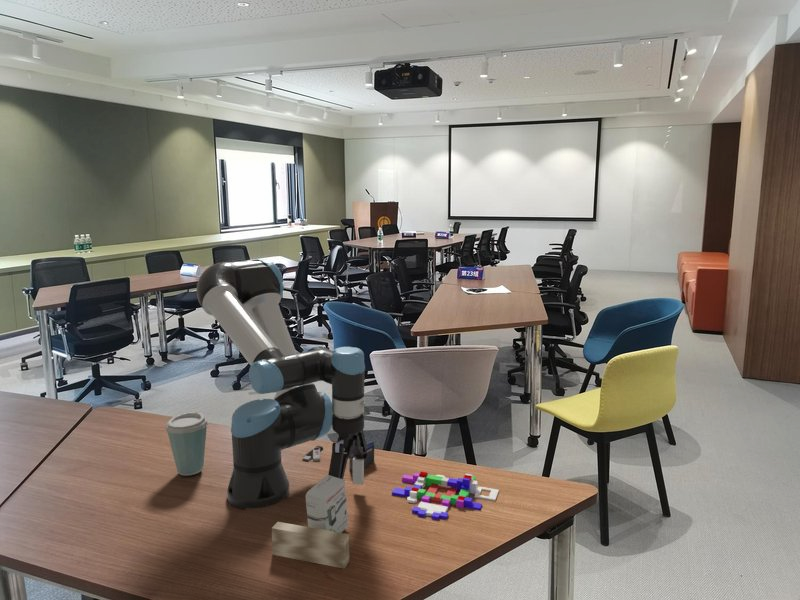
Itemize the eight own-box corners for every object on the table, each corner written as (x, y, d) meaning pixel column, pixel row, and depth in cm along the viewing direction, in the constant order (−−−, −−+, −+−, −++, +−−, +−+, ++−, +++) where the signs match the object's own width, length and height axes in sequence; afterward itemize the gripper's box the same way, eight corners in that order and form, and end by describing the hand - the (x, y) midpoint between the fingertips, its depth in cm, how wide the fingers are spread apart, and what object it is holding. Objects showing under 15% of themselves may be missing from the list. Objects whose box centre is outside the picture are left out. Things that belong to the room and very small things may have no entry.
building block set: (381, 510, 136) (381, 492, 135) (409, 472, 155) (409, 457, 154) (485, 530, 128) (485, 512, 127) (500, 488, 147) (501, 472, 146)
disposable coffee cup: (192, 482, 147) (188, 427, 145) (159, 475, 151) (155, 422, 149) (218, 465, 157) (215, 413, 155) (186, 459, 161) (183, 408, 158)
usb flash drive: (316, 448, 169) (316, 445, 169) (332, 451, 167) (332, 448, 167) (301, 460, 161) (301, 457, 161) (318, 463, 159) (317, 460, 159)
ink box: (327, 549, 119) (323, 500, 116) (308, 542, 122) (303, 494, 118) (349, 525, 127) (345, 478, 124) (330, 519, 129) (326, 473, 126)
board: (272, 554, 117) (271, 528, 116) (278, 547, 120) (277, 521, 119) (344, 568, 113) (344, 541, 112) (349, 561, 115) (349, 534, 114)
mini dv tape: (353, 472, 154) (353, 451, 153) (349, 470, 155) (349, 450, 154) (374, 462, 160) (374, 442, 159) (370, 460, 161) (370, 440, 160)
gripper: (343, 436, 121) (343, 527, 124) (380, 397, 144) (379, 475, 148) (310, 431, 123) (311, 521, 126) (352, 394, 146) (352, 470, 150)
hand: (348, 496), depth 137 cm, fingers open, 13 cm apart
